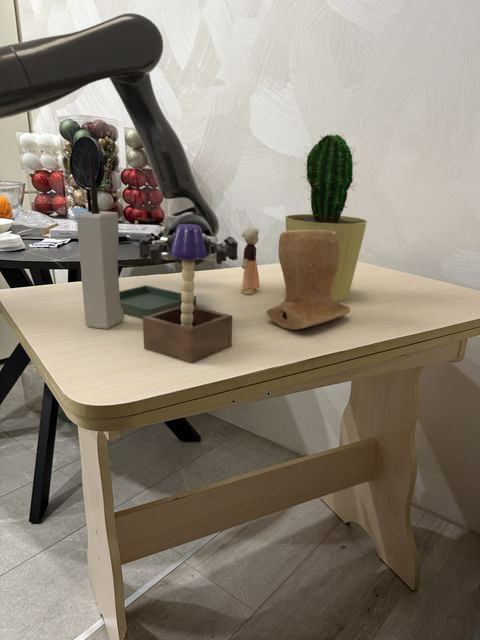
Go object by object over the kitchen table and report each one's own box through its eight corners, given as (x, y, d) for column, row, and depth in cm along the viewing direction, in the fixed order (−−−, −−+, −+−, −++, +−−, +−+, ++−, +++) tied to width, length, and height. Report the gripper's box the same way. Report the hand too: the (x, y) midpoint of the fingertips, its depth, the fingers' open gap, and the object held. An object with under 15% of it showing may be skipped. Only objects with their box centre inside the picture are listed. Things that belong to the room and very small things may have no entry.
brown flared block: (302, 304, 96) (308, 221, 90) (358, 318, 88) (368, 229, 83) (246, 321, 85) (249, 227, 80) (305, 338, 78) (312, 236, 72)
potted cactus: (325, 282, 113) (337, 133, 103) (375, 299, 101) (395, 132, 90) (265, 289, 105) (272, 128, 95) (312, 309, 93) (326, 127, 83)
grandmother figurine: (258, 296, 100) (261, 229, 96) (238, 295, 100) (240, 228, 96) (259, 287, 107) (262, 224, 103) (241, 286, 107) (242, 223, 103)
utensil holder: (124, 320, 82) (115, 152, 74) (107, 330, 78) (95, 151, 69) (103, 318, 83) (91, 151, 74) (85, 327, 79) (70, 150, 70)
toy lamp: (206, 341, 75) (206, 223, 69) (205, 353, 70) (205, 227, 65) (172, 341, 74) (170, 222, 68) (169, 352, 70) (166, 226, 64)
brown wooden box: (143, 348, 71) (142, 317, 70) (185, 333, 78) (185, 304, 76) (191, 363, 67) (191, 330, 65) (232, 345, 74) (232, 315, 72)
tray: (97, 306, 89) (97, 296, 89) (146, 294, 98) (145, 284, 98) (149, 320, 83) (149, 309, 82) (196, 306, 92) (196, 296, 91)
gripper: (145, 214, 84) (134, 227, 69) (233, 216, 86) (240, 229, 71) (147, 260, 87) (136, 282, 72) (232, 261, 89) (239, 283, 74)
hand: (188, 256), depth 72 cm, fingers open, 8 cm apart
